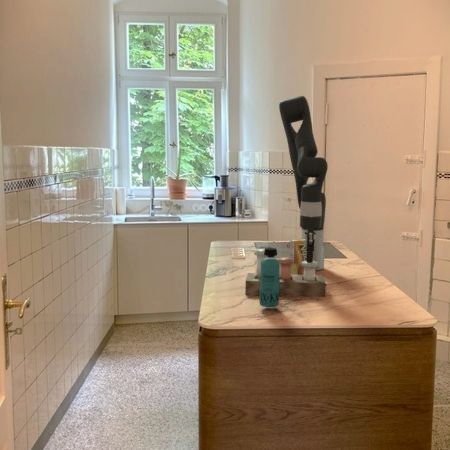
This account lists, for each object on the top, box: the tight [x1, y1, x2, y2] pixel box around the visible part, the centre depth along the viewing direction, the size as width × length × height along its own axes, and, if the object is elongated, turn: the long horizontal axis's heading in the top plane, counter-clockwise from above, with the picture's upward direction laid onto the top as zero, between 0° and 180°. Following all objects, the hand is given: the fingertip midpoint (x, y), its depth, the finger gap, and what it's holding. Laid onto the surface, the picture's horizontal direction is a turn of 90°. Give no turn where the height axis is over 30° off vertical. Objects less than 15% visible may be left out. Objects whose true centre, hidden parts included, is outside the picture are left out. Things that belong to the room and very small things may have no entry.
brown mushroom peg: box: [277, 256, 294, 280], centre depth 193 cm, size 6×6×10 cm
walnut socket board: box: [244, 272, 327, 298], centre depth 193 cm, size 28×12×5 cm, turn 84°
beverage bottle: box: [258, 247, 280, 308], centre depth 171 cm, size 6×7×20 cm
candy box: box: [289, 238, 314, 275], centre depth 214 cm, size 9×4×15 cm, turn 110°
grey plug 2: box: [302, 261, 318, 281], centre depth 192 cm, size 6×6×10 cm
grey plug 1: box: [254, 248, 268, 279], centre depth 193 cm, size 6×6×10 cm
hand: (309, 262), depth 191 cm, fingers closed
